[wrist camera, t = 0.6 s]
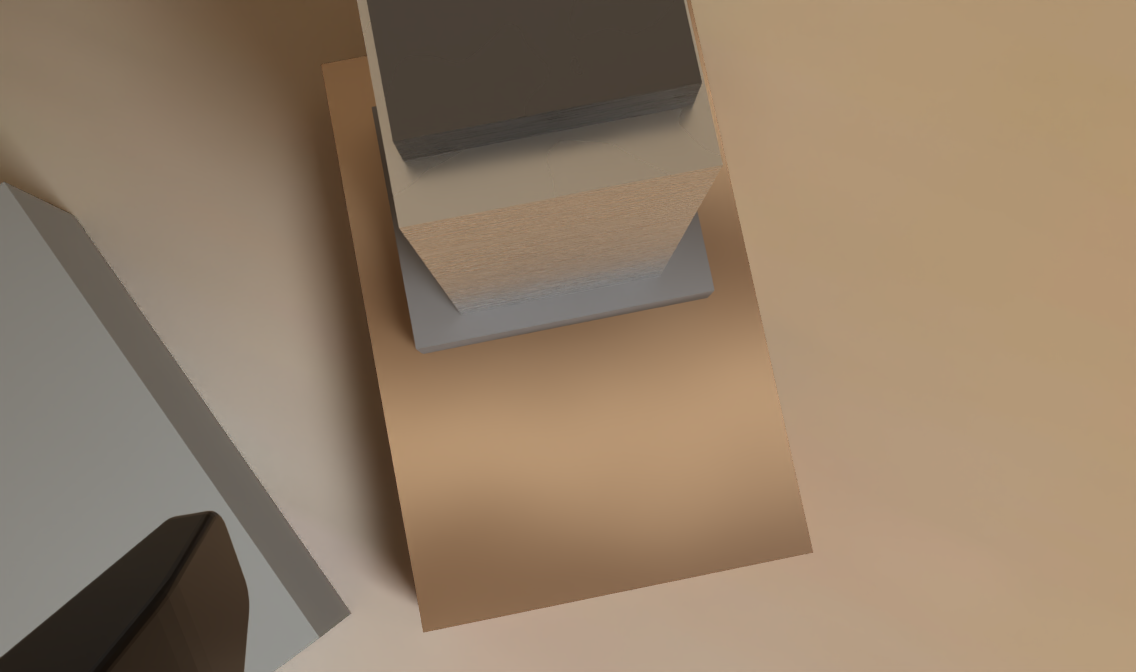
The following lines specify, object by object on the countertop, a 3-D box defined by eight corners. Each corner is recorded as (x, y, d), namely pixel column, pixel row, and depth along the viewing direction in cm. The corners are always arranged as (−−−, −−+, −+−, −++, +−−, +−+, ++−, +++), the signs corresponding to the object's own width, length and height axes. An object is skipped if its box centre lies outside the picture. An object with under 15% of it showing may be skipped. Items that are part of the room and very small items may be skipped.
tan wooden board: (791, 543, 23) (826, 557, 20) (435, 616, 23) (416, 641, 20) (678, 32, 24) (695, -27, 21) (340, 96, 24) (310, 45, 21)
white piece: (660, 275, 21) (733, 146, 12) (461, 315, 20) (387, 212, 12) (619, 84, 21) (661, -178, 12) (424, 121, 21) (326, -117, 12)
